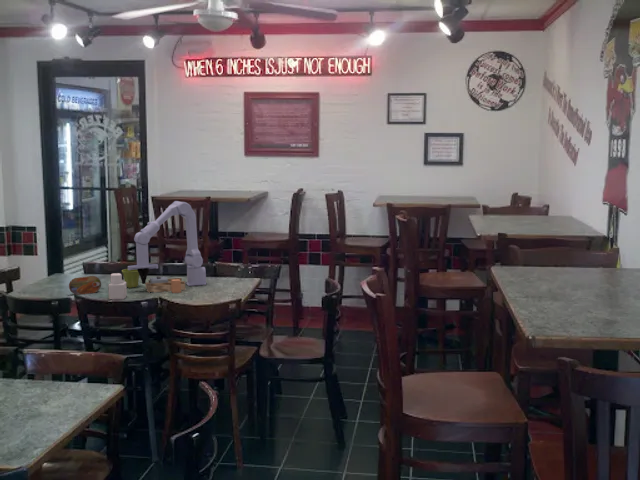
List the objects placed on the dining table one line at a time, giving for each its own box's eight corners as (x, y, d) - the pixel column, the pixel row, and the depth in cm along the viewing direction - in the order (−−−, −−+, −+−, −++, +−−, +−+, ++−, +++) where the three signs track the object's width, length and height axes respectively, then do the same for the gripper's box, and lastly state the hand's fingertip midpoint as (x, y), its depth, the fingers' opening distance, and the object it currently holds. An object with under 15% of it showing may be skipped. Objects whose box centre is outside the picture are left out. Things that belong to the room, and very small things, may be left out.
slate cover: (165, 281, 359) (165, 274, 358) (168, 284, 351) (168, 277, 351) (149, 282, 356) (149, 275, 356) (151, 285, 349) (151, 278, 348)
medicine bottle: (111, 296, 339) (110, 271, 337) (126, 296, 340) (125, 271, 338) (108, 299, 332) (107, 274, 330) (124, 299, 333) (123, 274, 331)
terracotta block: (179, 290, 351) (179, 279, 350) (181, 292, 347) (180, 280, 346) (171, 291, 349) (171, 279, 349) (172, 293, 346) (172, 281, 345)
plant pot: (136, 288, 357) (135, 271, 355) (119, 288, 358) (118, 271, 357) (144, 285, 366) (143, 268, 365) (127, 284, 368) (126, 268, 366)
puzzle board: (181, 285, 364) (181, 277, 363) (185, 290, 353) (185, 281, 352) (145, 288, 358) (145, 280, 357) (148, 292, 347) (148, 284, 346)
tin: (70, 295, 341) (69, 278, 340) (68, 294, 344) (67, 277, 343) (101, 292, 349) (100, 275, 348) (100, 291, 352) (99, 274, 351)
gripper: (128, 258, 343) (129, 286, 345) (158, 256, 348) (159, 283, 350) (126, 256, 350) (128, 283, 351) (156, 254, 355) (157, 281, 356)
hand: (143, 283), depth 351 cm, fingers closed
